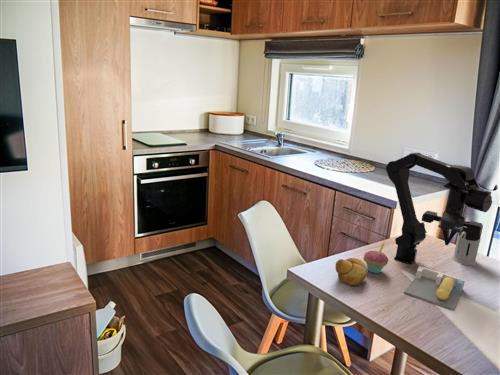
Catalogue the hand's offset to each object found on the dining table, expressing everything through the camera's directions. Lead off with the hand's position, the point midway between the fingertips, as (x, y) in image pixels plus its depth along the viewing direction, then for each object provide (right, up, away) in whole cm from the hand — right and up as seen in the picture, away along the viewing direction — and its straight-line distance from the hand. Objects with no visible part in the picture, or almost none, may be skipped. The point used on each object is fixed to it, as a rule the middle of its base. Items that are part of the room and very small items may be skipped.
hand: (446, 245), depth 149 cm
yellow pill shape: (-5, -14, -10) cm, 19 cm away
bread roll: (-34, -11, -4) cm, 36 cm away
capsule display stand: (-8, -14, -8) cm, 18 cm away
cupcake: (-25, -10, +4) cm, 27 cm away
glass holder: (+13, -9, +16) cm, 23 cm away
